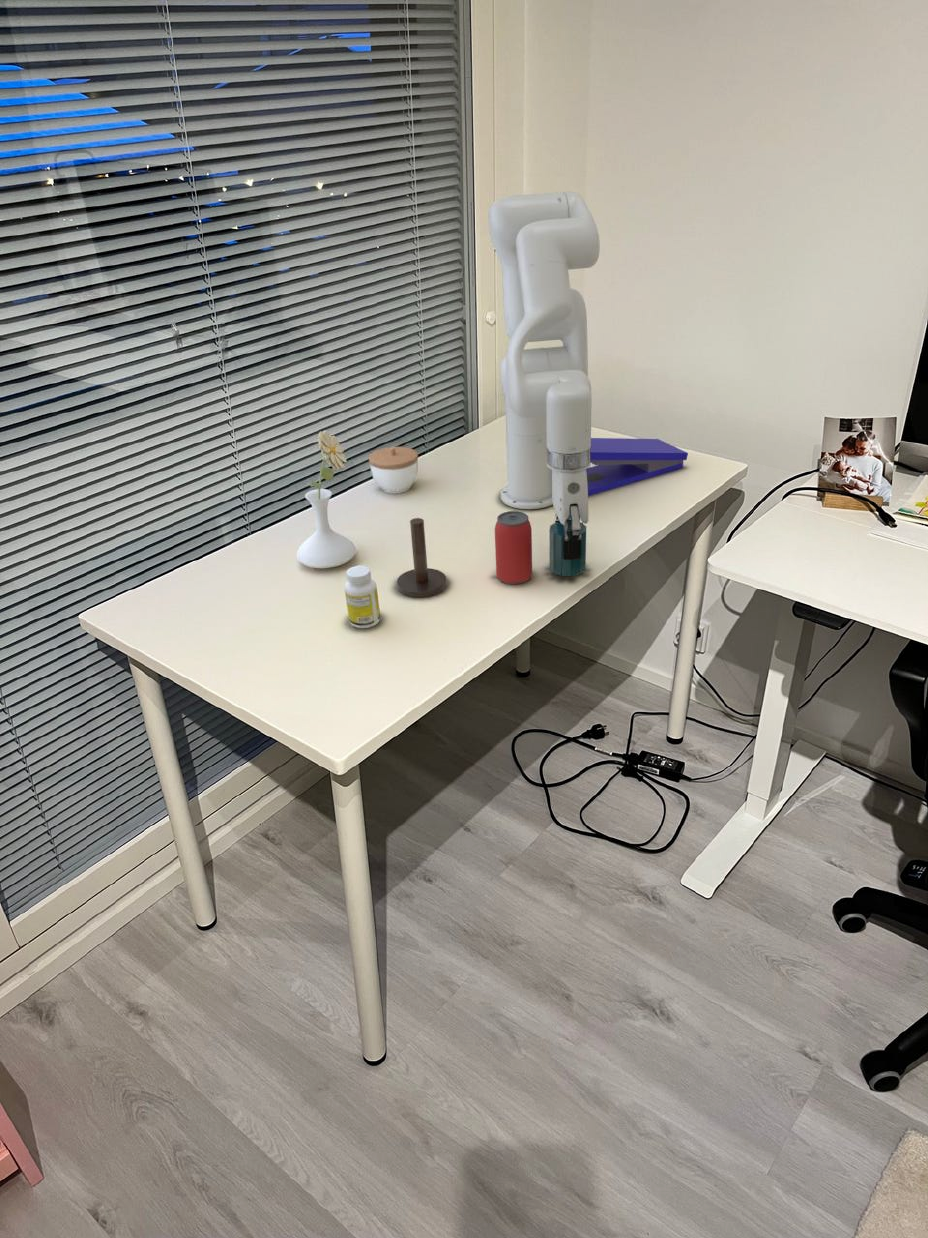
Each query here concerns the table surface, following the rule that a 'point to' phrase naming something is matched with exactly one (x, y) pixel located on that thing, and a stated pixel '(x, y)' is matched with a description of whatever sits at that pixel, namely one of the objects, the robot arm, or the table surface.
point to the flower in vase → (325, 515)
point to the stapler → (629, 461)
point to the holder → (420, 568)
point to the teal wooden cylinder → (556, 551)
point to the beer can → (513, 547)
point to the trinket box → (394, 468)
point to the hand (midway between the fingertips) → (567, 548)
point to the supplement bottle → (361, 598)
